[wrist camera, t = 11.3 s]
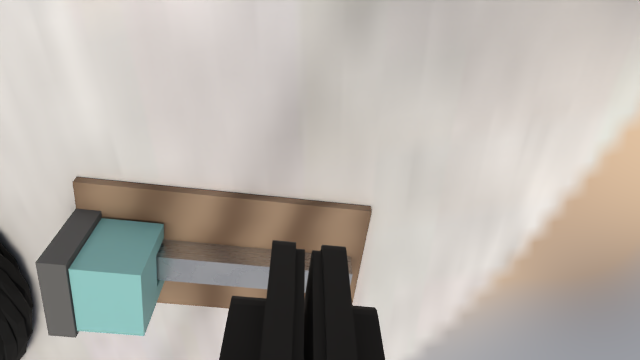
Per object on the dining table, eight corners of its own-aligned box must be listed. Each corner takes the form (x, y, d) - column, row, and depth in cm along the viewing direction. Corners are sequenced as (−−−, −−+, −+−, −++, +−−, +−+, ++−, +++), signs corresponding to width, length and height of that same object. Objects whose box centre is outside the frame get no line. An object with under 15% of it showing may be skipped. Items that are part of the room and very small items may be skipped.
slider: (163, 223, 42) (140, 275, 36) (165, 280, 45) (144, 335, 39) (101, 218, 41) (68, 269, 36) (106, 275, 44) (77, 330, 39)
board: (370, 206, 43) (371, 211, 42) (348, 312, 48) (349, 318, 48) (76, 177, 41) (72, 181, 40) (90, 290, 47) (87, 296, 46)
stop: (101, 210, 41) (65, 265, 35) (107, 277, 45) (75, 337, 39) (76, 208, 41) (35, 262, 35) (84, 275, 45) (48, 335, 39)
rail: (350, 256, 44) (352, 274, 42) (346, 277, 45) (348, 296, 43) (103, 233, 43) (92, 251, 40) (105, 256, 44) (95, 274, 42)
